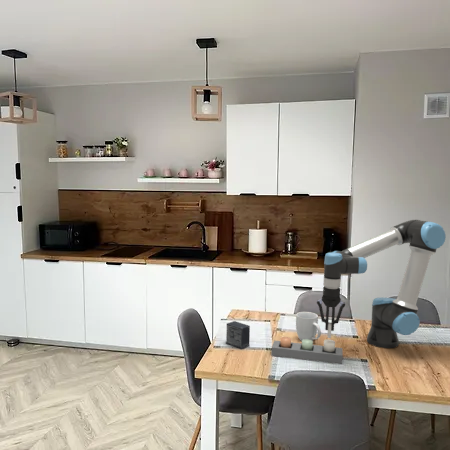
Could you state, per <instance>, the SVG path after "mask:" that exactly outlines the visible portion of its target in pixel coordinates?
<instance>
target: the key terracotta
mask: <svg viewBox="0 0 450 450" xmlns="http://www.w3.org/2000/svg"><path fill="white" fill-rule="evenodd" d="M279 341H280V347H283V348H291V342H292V338H291V337H289V336H281V337H280V340H279Z"/></svg>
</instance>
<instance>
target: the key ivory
mask: <svg viewBox="0 0 450 450" xmlns="http://www.w3.org/2000/svg"><path fill="white" fill-rule="evenodd" d="M323 346H324V351H327V352H334V351H335V347H336V341H335V340H333V339H330V338H327V339H324V340H323Z"/></svg>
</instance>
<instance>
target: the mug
mask: <svg viewBox="0 0 450 450" xmlns="http://www.w3.org/2000/svg"><path fill="white" fill-rule="evenodd" d="M295 330H296V334H297V337H298V339H299V340H300V341H301V342H302V340H303V339H309V340H312V341H313V342H314V340H319V339H320V337H321V335H322V331H321V327H320V325H319V316H318V314H317V313H314V312H311V311H300V312H296V314H295ZM316 335H317V336H316Z"/></svg>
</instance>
